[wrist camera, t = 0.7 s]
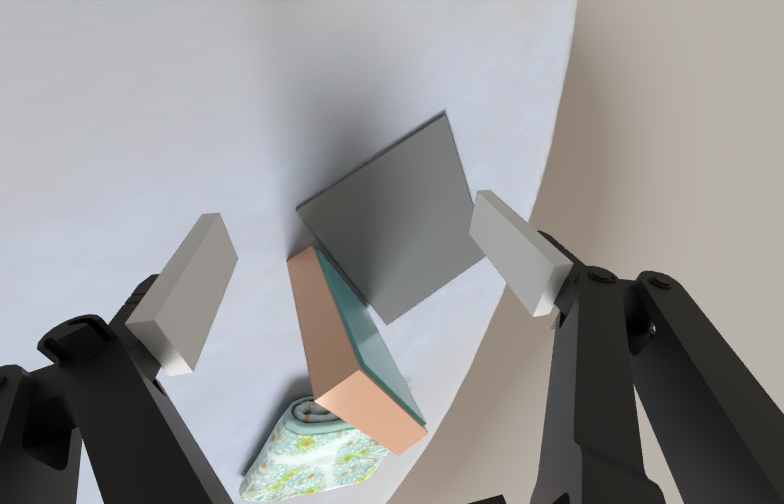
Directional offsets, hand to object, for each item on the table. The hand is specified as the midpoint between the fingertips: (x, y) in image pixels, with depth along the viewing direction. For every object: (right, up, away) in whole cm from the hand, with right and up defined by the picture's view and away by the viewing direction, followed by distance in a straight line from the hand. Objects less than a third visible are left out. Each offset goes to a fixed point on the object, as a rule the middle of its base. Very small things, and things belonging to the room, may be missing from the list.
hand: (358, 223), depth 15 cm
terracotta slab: (-5, -6, +17) cm, 19 cm away
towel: (-8, -30, +31) cm, 44 cm away
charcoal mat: (+4, 0, +18) cm, 19 cm away
